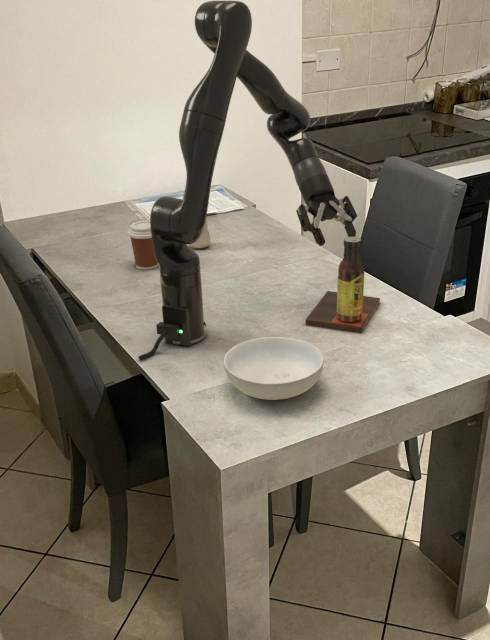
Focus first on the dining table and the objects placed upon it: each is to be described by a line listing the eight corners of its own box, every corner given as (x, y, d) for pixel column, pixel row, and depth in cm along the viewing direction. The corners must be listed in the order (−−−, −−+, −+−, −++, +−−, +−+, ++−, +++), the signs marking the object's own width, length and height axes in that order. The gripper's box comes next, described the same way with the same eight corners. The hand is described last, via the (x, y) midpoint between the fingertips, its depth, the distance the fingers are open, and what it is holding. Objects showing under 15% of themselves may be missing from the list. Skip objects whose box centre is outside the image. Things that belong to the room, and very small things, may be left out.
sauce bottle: (357, 325, 191) (360, 246, 181) (332, 321, 193) (334, 242, 183) (365, 314, 196) (369, 236, 186) (341, 310, 198) (343, 233, 188)
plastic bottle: (213, 248, 239) (209, 182, 229) (191, 252, 237) (186, 185, 227) (207, 241, 245) (203, 176, 234) (185, 244, 242) (180, 179, 232)
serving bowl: (340, 377, 173) (341, 349, 169) (291, 423, 157) (291, 393, 154) (259, 354, 182) (258, 327, 178) (205, 396, 166) (203, 367, 163)
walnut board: (361, 333, 191) (361, 327, 190) (305, 325, 195) (305, 319, 194) (379, 303, 205) (380, 297, 204) (327, 296, 209) (327, 290, 208)
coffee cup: (125, 269, 226) (120, 228, 220) (140, 257, 234) (136, 218, 228) (154, 273, 224) (150, 231, 218) (168, 261, 231) (165, 221, 225)
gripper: (293, 177, 186) (318, 239, 183) (344, 168, 192) (369, 228, 189) (281, 194, 193) (306, 254, 190) (331, 185, 199) (356, 242, 196)
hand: (338, 241), depth 190 cm, fingers open, 8 cm apart
